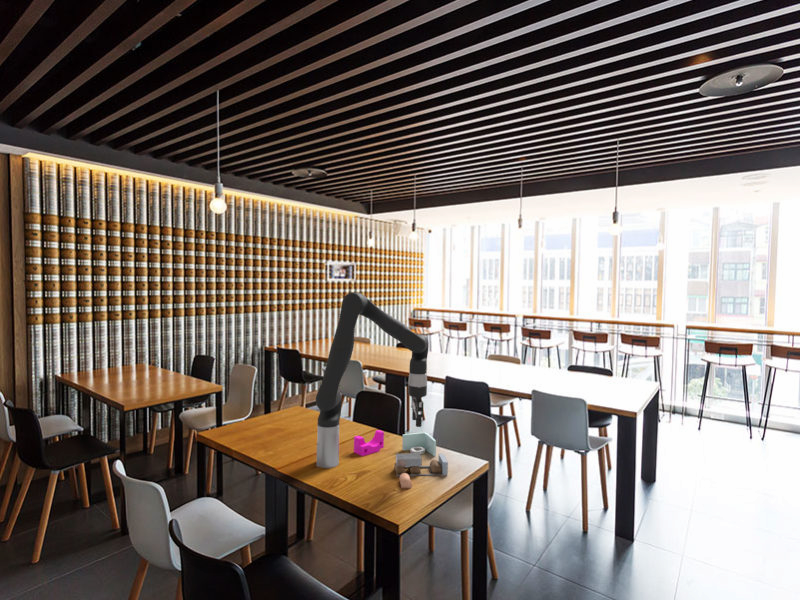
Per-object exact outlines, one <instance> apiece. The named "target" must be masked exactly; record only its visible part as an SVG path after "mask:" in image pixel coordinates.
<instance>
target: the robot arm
mask: <svg viewBox="0 0 800 600" xmlns="http://www.w3.org/2000/svg"><path fill="white" fill-rule="evenodd" d="M359 315H360V316H362V317H365V318H366V319H368V320H370V321H371V322H373V323H374V324H375V325H376V326H378V327H379V328H380V329H381V331H383V332H385V333H386V334H387V335H388V336H390V337H392V338H393V339H395V340H397V341H398V342H399V343H401V344H402V345H403V347H405V348H406V349H408V350H409V351H410V352H411V358H410V360H409V369H408V370H409V373H408V374H409V375H408V384H407V385H408V389H407V392H408V395H409V397H411V405H410V408H411V411H412V412H411V413H412V414H411V415H412V416H411V419H412V421H415V427H417V428H422V424H423V423H422V420H423V418H424V401H423V400H422V398H425V397H426V396H427V395H428V376H427V373H428V372H427V370H428V368H427V367H428V365H427V362H428V361H427V360H428V353H429V346H430V345H429V340H428V337H426V335H424V334H417V333H415V332H413V330H411V329H410V328H409V326H407V325H406V324H405V323H403V322H402V321H400V320H398V319H397V318H395V317H393V316H391V314H389V313H387V312H385V311H384V310H382V309H381V308H380V307H379V306H377V305H376V304H374V303H373V302H372V301H371V300H370V299H369V298H368V297H366V295H364V293H362V292H357V291H356V292H355V291H354V292H353V291H352V292H349V293H347V294H346V295H345V296H344V297H343V298H342V302H341V306H340V313H339V318H338V323H337V327H336V330H335V333H334V335H333V339H332V342H331V346H330V350H329V353H328V357H327V361H326V365H325V370H324V375H323V378H322V381H321V383H320V385H319V388H318V390H317V393H316V394H315V395H316V396H315V405H316V407H317V408H318V409H319V414H318V417H317V430H316V431H317V434H316V435H317V436H316V437H317V439H316V467H317V468H321V467H322V469H332V468H336V467H337V466H339V464H340V462H339V461H340V419H341V416H342V393H341V390H340V389H339V387H340V383H341V382H342V378H343V376H344V374H345V372H346V370H347V368H348V367H349V364H350V361H351V358H352V356H353V355H352V354H353V351H354V346H355V328H356V324H357V321H358V320H359Z"/></svg>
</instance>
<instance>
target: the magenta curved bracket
mask: <svg viewBox="0 0 800 600" xmlns="http://www.w3.org/2000/svg"><path fill="white" fill-rule="evenodd" d="M384 437H385V432H384V431H383V430H380V429H377V430H375V431H374V436H373V437H372V439H370V441H368V442H366V441H365V437H363V436H360V435H356V436H355V435H354V437H353V453H355V454H357V455H359V456H361V457H365V456H368V455H370V454H374V453H375V454H376V453H378V452H380V451H381V449H383V448H385V447H384V446H385V441H384V440H385V438H384Z"/></svg>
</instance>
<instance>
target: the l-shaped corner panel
mask: <svg viewBox="0 0 800 600" xmlns="http://www.w3.org/2000/svg"><path fill="white" fill-rule="evenodd" d="M401 443H402V445H401V447H402V451H409V453H420V456H421V455H424V454H426V453H425V452H426V451H427V452H428V453H429V454H431V455H432V456H433V457H437V440H436V439H435V438H434V437H432V435H430V434H429V433H428V432H426V431H424V432H415V433H406V434H402V442H401Z"/></svg>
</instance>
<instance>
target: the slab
mask: <svg viewBox="0 0 800 600" xmlns="http://www.w3.org/2000/svg"><path fill="white" fill-rule="evenodd" d="M422 459H423V458H422V456H421V455H420V453H410V452H408V453H396V454H395V463H396V464H397V467H408V466H423V465H422V463H423V461H422Z"/></svg>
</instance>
